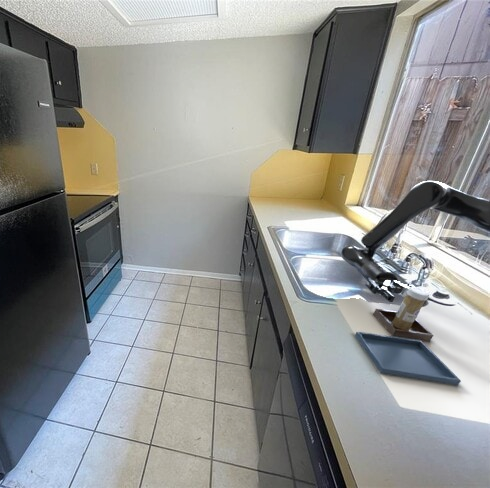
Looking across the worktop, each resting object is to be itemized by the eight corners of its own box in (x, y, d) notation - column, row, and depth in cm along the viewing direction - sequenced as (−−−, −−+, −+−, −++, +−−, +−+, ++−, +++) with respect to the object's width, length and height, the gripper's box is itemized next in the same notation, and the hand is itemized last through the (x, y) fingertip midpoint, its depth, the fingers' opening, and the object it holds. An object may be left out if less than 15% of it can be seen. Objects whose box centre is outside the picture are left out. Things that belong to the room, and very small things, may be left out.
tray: (418, 345, 75) (421, 340, 74) (456, 386, 63) (461, 380, 62) (354, 336, 77) (356, 331, 76) (380, 374, 65) (383, 368, 64)
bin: (406, 319, 86) (409, 313, 84) (429, 342, 76) (433, 335, 75) (372, 315, 87) (375, 308, 86) (391, 337, 78) (395, 330, 77)
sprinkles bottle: (406, 333, 78) (426, 296, 73) (388, 324, 82) (406, 288, 76) (412, 328, 81) (432, 292, 75) (394, 319, 84) (412, 284, 79)
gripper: (360, 263, 94) (387, 288, 79) (403, 268, 92) (439, 294, 77) (353, 281, 97) (378, 308, 82) (394, 286, 95) (428, 314, 80)
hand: (407, 301), depth 79 cm, fingers open, 8 cm apart
